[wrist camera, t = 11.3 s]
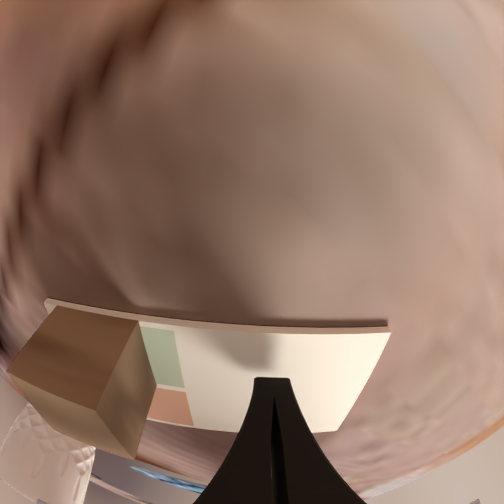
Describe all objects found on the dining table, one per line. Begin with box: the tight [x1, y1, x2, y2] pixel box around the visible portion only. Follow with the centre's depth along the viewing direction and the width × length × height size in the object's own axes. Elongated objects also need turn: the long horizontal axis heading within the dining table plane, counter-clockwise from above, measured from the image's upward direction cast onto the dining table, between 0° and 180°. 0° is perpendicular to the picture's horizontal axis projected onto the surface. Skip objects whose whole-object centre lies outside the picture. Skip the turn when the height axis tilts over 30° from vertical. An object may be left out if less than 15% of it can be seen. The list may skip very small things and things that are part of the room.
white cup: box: [0, 402, 96, 504], centre depth 12 cm, size 8×8×10 cm
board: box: [44, 298, 391, 433], centre depth 12 cm, size 9×16×1 cm, turn 87°
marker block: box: [7, 305, 157, 460], centre depth 9 cm, size 4×4×4 cm
